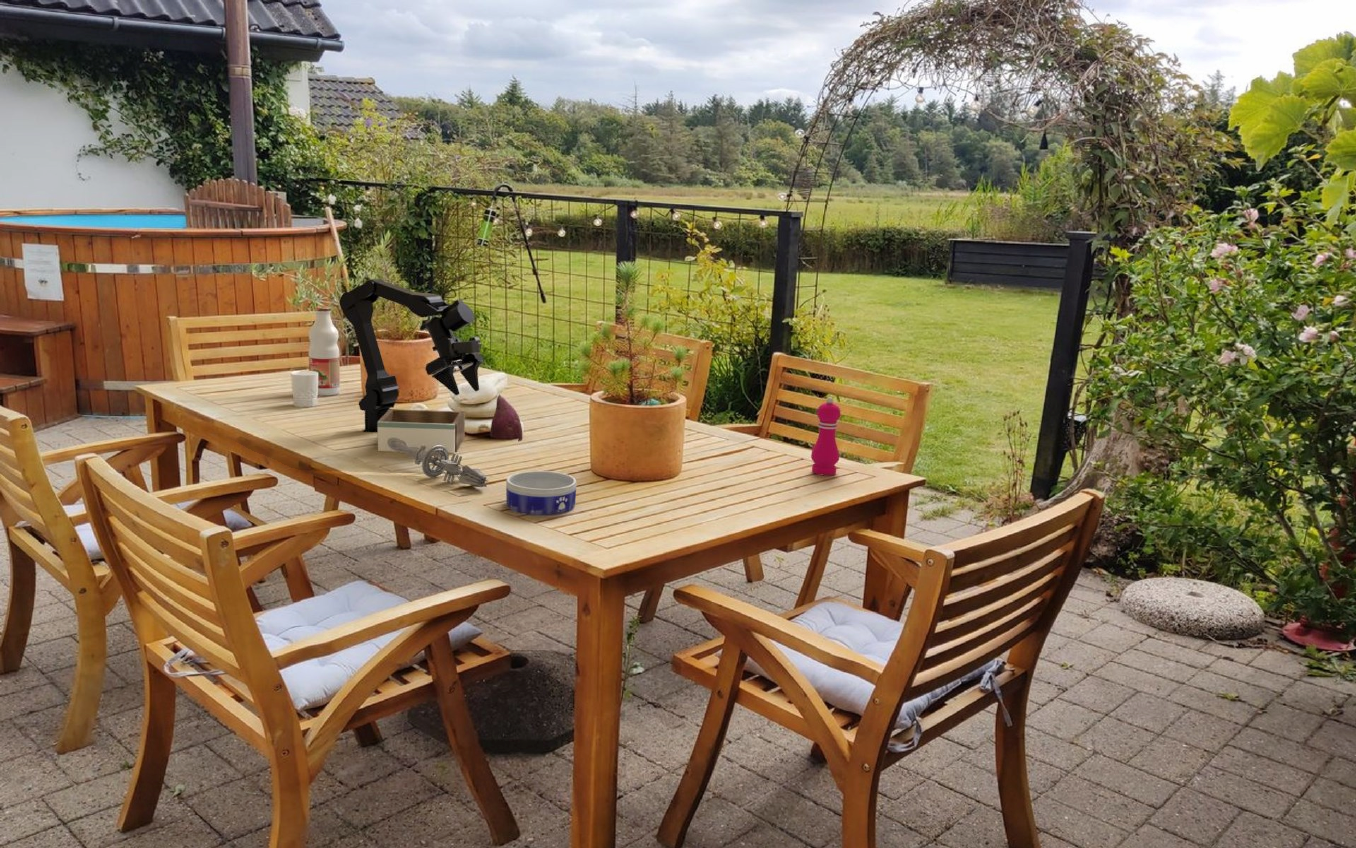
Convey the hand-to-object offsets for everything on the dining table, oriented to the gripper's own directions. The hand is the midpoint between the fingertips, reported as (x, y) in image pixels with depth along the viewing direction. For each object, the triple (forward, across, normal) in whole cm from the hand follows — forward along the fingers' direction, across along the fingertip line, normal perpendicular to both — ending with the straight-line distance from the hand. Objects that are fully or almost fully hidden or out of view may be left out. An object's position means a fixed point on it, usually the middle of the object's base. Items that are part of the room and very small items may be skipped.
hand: (467, 392), depth 271 cm
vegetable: (+14, +15, +5) cm, 21 cm away
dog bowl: (+36, -35, -28) cm, 57 cm away
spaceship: (+19, -28, -1) cm, 34 cm away
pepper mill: (+58, +28, -71) cm, 96 cm away
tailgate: (+9, -13, +13) cm, 21 cm away
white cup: (-23, +18, +67) cm, 73 cm away
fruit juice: (-27, +35, +74) cm, 86 cm away
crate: (+8, -5, +16) cm, 19 cm away
